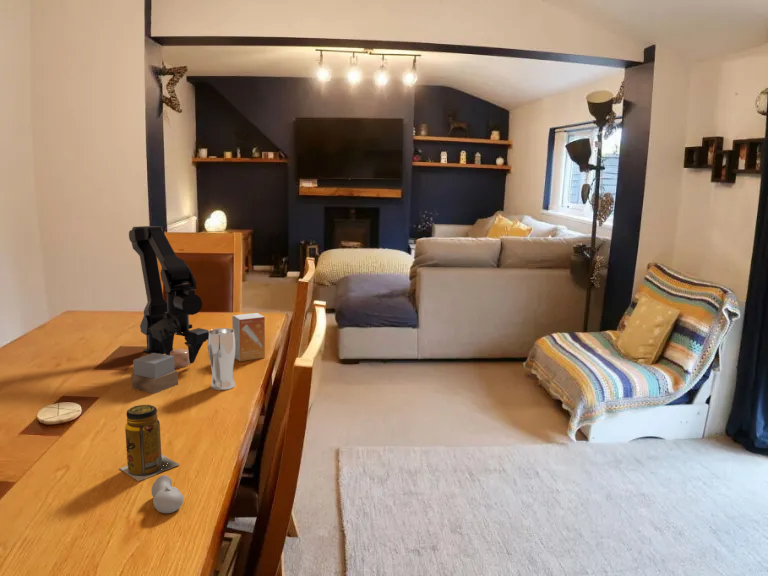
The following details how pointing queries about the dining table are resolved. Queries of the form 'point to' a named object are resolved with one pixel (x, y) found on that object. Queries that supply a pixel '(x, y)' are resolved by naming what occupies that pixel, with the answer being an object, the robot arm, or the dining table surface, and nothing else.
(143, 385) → the walnut base block
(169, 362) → the grey top block
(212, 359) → the beer glass
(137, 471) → the condiment
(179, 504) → the pale two-lobed sculpture
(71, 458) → the dining table surface
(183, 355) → the brown rounded cylinder
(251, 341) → the small box
